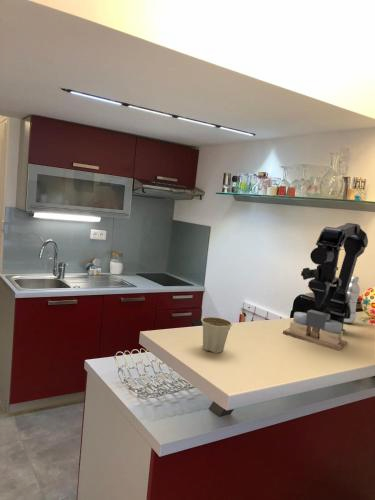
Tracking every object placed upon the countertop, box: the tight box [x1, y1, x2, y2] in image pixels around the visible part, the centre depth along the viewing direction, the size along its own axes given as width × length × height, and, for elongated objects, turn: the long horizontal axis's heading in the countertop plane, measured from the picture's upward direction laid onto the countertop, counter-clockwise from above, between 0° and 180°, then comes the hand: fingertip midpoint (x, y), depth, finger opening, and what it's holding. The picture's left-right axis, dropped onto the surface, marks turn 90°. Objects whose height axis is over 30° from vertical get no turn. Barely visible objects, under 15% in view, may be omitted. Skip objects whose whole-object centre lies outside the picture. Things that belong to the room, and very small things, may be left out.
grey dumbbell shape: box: [292, 309, 344, 334], centre depth 145 cm, size 6×17×5 cm, turn 55°
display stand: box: [282, 320, 348, 351], centre depth 146 cm, size 10×20×4 cm, turn 55°
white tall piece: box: [344, 275, 361, 324], centre depth 173 cm, size 6×7×20 cm
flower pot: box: [200, 316, 233, 353], centre depth 123 cm, size 9×9×9 cm
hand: (321, 306), depth 145 cm, fingers open, 9 cm apart
